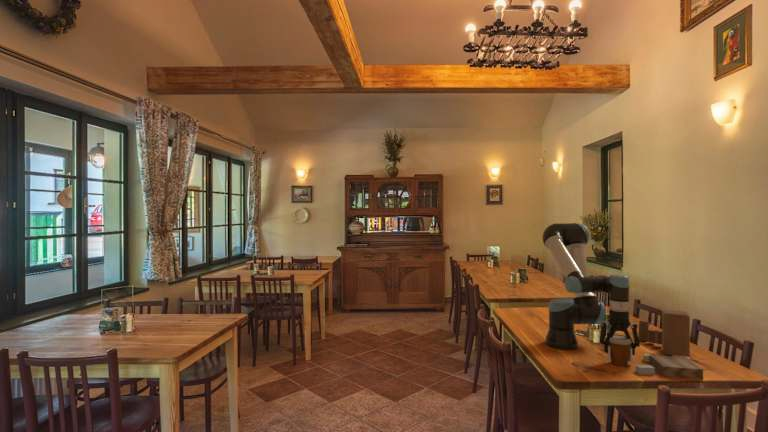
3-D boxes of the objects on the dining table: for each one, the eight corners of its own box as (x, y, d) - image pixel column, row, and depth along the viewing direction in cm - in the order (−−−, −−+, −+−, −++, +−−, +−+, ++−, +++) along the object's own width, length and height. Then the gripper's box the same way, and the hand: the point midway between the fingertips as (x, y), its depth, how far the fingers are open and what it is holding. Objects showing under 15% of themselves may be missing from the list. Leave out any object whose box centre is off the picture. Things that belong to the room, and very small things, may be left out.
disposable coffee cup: (634, 369, 171) (634, 341, 171) (609, 366, 174) (609, 338, 174) (629, 361, 180) (629, 334, 180) (605, 358, 183) (605, 332, 183)
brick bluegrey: (639, 374, 165) (639, 367, 165) (635, 371, 168) (635, 364, 168) (654, 375, 165) (654, 367, 165) (650, 372, 168) (650, 365, 168)
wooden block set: (667, 348, 197) (669, 327, 197) (648, 346, 198) (650, 325, 199) (649, 338, 215) (651, 319, 215) (632, 336, 216) (633, 317, 216)
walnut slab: (663, 376, 163) (663, 366, 163) (649, 363, 177) (649, 354, 177) (703, 379, 160) (703, 369, 160) (685, 366, 173) (685, 357, 173)
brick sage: (644, 362, 179) (644, 355, 179) (643, 360, 182) (643, 353, 182) (660, 364, 176) (660, 357, 176) (659, 362, 179) (659, 355, 179)
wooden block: (690, 359, 182) (689, 315, 182) (663, 355, 187) (663, 312, 187) (687, 352, 191) (687, 311, 191) (662, 349, 196) (661, 308, 196)
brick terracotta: (673, 363, 177) (673, 356, 177) (672, 361, 180) (672, 354, 180) (690, 365, 175) (690, 359, 175) (688, 363, 177) (688, 356, 177)
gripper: (595, 310, 176) (595, 361, 176) (649, 313, 171) (649, 366, 171) (591, 306, 183) (591, 356, 183) (642, 309, 178) (642, 359, 178)
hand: (619, 360), depth 177 cm, fingers closed on disposable coffee cup, 8 cm apart
